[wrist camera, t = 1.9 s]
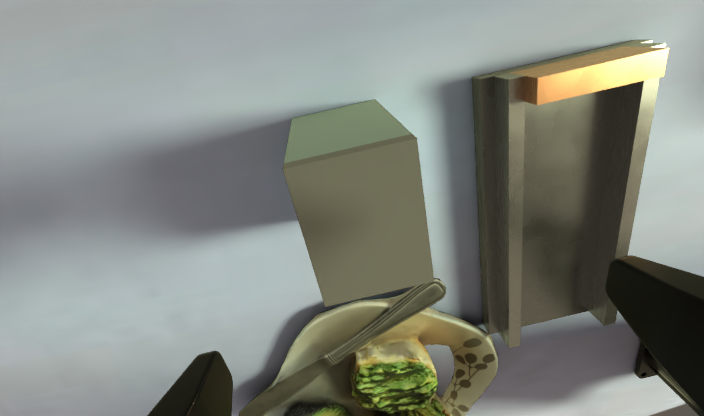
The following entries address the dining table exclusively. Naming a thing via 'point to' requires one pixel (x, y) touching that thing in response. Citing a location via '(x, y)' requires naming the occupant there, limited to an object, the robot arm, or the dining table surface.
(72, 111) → the dining table surface
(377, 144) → the module
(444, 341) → the salad plate
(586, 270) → the rail
